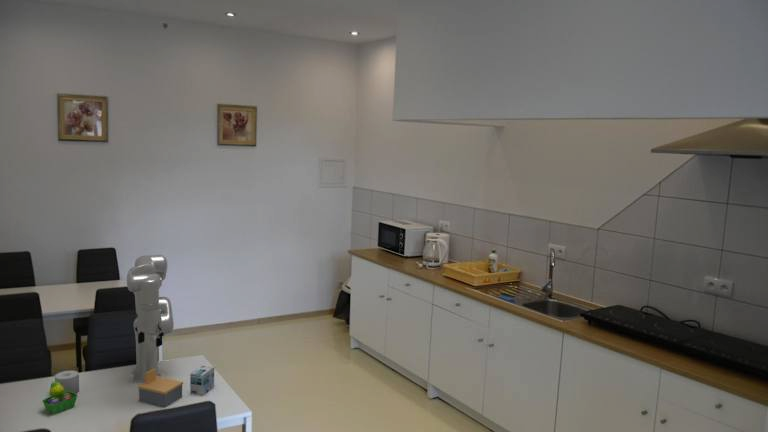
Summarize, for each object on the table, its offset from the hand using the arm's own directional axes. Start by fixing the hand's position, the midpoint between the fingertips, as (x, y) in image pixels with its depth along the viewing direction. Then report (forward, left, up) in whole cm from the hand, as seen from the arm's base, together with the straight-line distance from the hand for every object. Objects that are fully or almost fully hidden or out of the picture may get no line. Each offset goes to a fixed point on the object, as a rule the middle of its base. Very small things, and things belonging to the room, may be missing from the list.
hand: (150, 344), depth 253 cm
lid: (+5, 0, -19) cm, 20 cm away
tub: (+5, 0, -25) cm, 26 cm away
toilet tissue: (-38, -9, -26) cm, 47 cm away
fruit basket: (-28, -23, -26) cm, 44 cm away
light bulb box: (+16, +15, -26) cm, 34 cm away
